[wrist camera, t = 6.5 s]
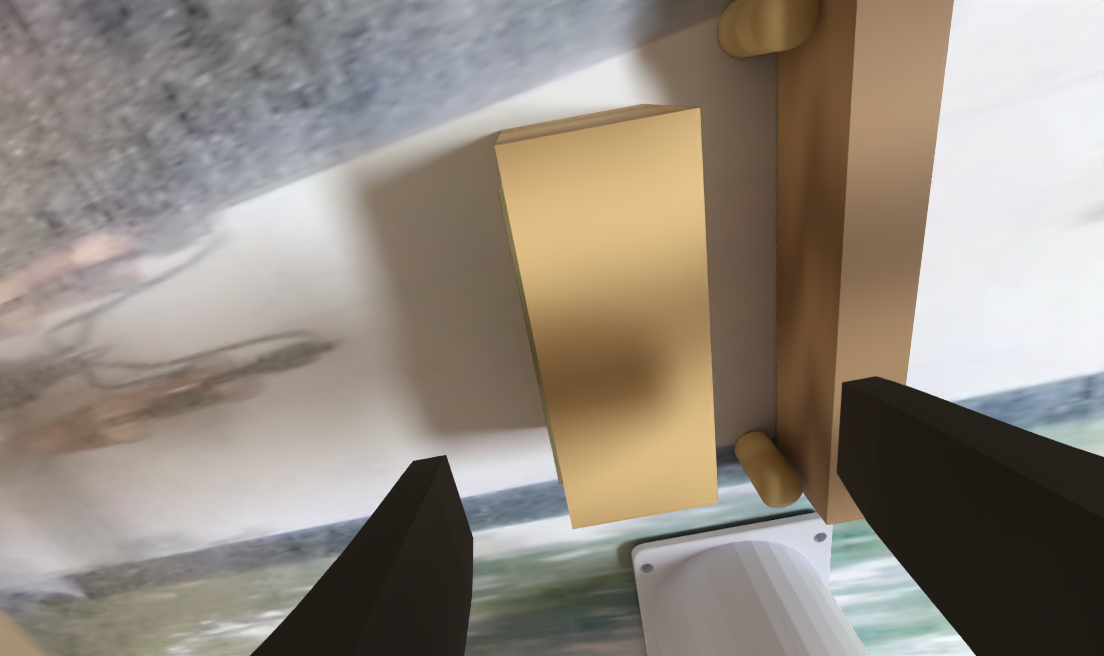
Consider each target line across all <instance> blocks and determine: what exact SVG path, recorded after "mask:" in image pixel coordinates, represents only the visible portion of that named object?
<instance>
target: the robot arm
mask: <svg viewBox="0 0 1104 656" xmlns="http://www.w3.org/2000/svg"><path fill="white" fill-rule="evenodd" d="M837 474H838V476H839V478H840V479H841V481H842V483H843V484H844V486H845V488H846V489H847V491H848V493H849V494H850V496H851V498H852V499H853V501H854V502H855V504H856V505H857V507H858V508H859V510H860V512H861V513H862V515H863V516H864V518H865V519H866V521H867V522H868V524H869V525H870V526H871V527H872V529H873V530H874V531H875V533H876V534H877V535H878V536H879V538H880V539H881V540H882V541H883V543H884V544H885V545H886V546H887V547H888V549H889V550H890V551H891V552H892V554H893V555H894V556H895V557H896V559H897V560H898V561H899V562H900V564H901V565H902V566H903V567H904V568H905V570H906V571H907V572H908V573H909V574H910V576H911V577H912V578H913V579H914V581H915V582H916V583H917V584H918V585H919V587H920V588H921V589H922V590H923V591H924V593H925V594H926V595H927V596H928V597H929V599H930V600H931V601H932V602H933V604H934V605H935V606H936V607H937V608H938V610H939V611H940V612H941V613H942V614H943V616H944V617H945V618H946V619H947V621H948V622H949V623H950V624H951V625H952V627H953V628H954V629H955V630H956V631H957V633H958V634H959V635H960V636H961V638H962V639H963V640H964V641H965V642H966V644H967V645H968V646H969V647H970V649H971V650H972V651H973V653H974V654H975V655H976V656H1104V457H1102V456H1099V455H1096V454H1093V453H1090V452H1087V451H1084V450H1081V449H1078V448H1075V447H1072V446H1069V445H1066V444H1063V443H1060V442H1057V441H1054V440H1052V439H1049V438H1046V437H1043V436H1040V435H1037V434H1035V433H1032V432H1029V431H1026V430H1024V429H1021V428H1018V427H1015V426H1013V425H1010V424H1007V423H1005V422H1002V421H999V420H997V419H994V418H991V417H989V416H986V415H983V414H981V413H978V412H975V411H973V410H970V409H967V408H965V407H962V406H959V405H957V404H954V403H952V402H949V401H946V400H944V399H941V398H938V397H936V396H933V395H930V394H928V393H925V392H922V391H920V390H917V389H914V388H911V387H909V386H906V385H903V384H900V383H897V382H894V381H891V380H888V379H884V378H881V377H878V376H874V377H869V378H863V379H858V380H852V381H847V382H842V392H841V408H840V424H839V440H838V457H837ZM832 526H833V525H832V524H831V525H826V524H825V522H824V521H823V520H822V518H821V517H820V515H819V514H818V513H817V512H815V513H810V514H804V515H799V516H793V517H788V518H782V519H776V520H771V521H765V522H760V523H754V524H749V525H743V526H737V527H732V528H726V529H721V530H715V531H710V532H704V533H698V534H693V535H687V536H682V537H676V538H671V539H665V540H659V541H654V542H648V543H643V544H640V545H637V546H636V547H635V548H634V549H633V550H632V554H631V555H632V561H633V568H634V574H635V580H636V587H637V593H638V599H639V606H640V612H641V618H642V625H643V631H644V638H645V644H646V650H647V656H870V655H869V653H868V651H867V650H866V648H865V647H864V645H863V643H862V642H861V640H860V639H859V637H858V635H857V634H856V632H855V631H854V629H853V627H852V626H851V624H850V623H849V621H848V620H847V618H846V616H845V615H844V613H843V612H842V610H841V608H840V607H839V605H838V604H837V602H836V600H835V599H834V597H833V596H832V594H831V592H830V591H829V589H828V588H829V572H830V557H831V541H832ZM644 564H647V565H644ZM472 582H473V536H472V533H471V530H470V527H469V524H468V521H467V518H466V515H465V512H464V508H463V505H462V502H461V499H460V496H459V493H458V490H457V487H456V484H455V481H454V478H453V475H452V472H451V469H450V466H449V462H448V459H447V456H446V455H443V456H437V457H432V458H427V459H421V460H416V461H413V462H412V463H411V464H410V466H409V467H408V468H407V469H406V471H405V472H404V473H403V475H402V476H401V477H400V479H399V480H398V481H397V482H396V484H395V485H394V486H393V488H392V489H391V490H390V492H389V493H388V494H387V496H386V497H385V498H384V500H383V501H382V502H381V504H380V505H379V506H378V508H377V509H376V510H375V512H374V513H373V514H372V516H371V517H370V518H369V519H368V521H367V522H366V523H365V524H364V526H363V527H362V528H361V530H360V531H359V532H358V533H357V535H356V536H355V537H354V539H353V540H352V541H351V542H350V544H349V545H348V546H347V548H346V549H345V550H344V551H343V552H342V554H341V555H340V556H339V557H338V558H337V560H336V561H335V562H334V563H333V564H332V565H331V567H330V568H329V569H328V570H327V571H326V572H325V574H324V575H323V576H322V577H321V578H320V580H319V581H318V582H317V583H316V584H315V585H314V587H313V588H312V589H311V590H310V591H309V592H308V594H307V595H306V596H305V597H304V598H303V599H302V601H301V602H300V603H299V604H298V605H297V606H296V608H295V609H294V610H293V611H292V612H291V613H290V614H289V615H288V616H287V617H286V619H285V620H284V621H283V622H282V623H281V624H280V625H279V626H278V627H277V628H276V629H275V630H274V631H273V633H272V634H271V635H270V636H269V637H268V638H267V639H266V640H265V641H264V642H263V643H262V644H261V645H260V646H259V647H258V648H257V649H256V650H255V651H254V652H253V653H252V654H251V655H250V656H464V652H465V645H466V638H467V630H468V622H469V615H470V607H471V599H472Z"/></svg>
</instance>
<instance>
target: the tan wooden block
mask: <svg viewBox="0 0 1104 656" xmlns="http://www.w3.org/2000/svg"><path fill="white" fill-rule="evenodd" d="M494 147H495V152H496V157H497V162H498V167H499V171H500V176H501V182H500V188H499V198H500V203H501V207H502V212H503V217H504V222H505V226H506V231H507V236H508V241H509V246H510V250H511V255H512V260H513V265H514V270H515V274H516V279H517V284H518V289H519V294H520V298H521V303H522V308H523V313H524V317H525V322H526V327H527V332H528V337H529V341H530V346H531V351H532V356H533V361H534V365H535V370H536V375H537V380H538V384H539V389H540V394H541V399H542V404H543V408H544V413H545V418H546V423H547V428H548V432H549V437H550V442H551V447H552V451H553V456H554V461H555V466H556V471H557V475H558V480H559V484H564V489H565V494H566V499H567V504H568V509H569V514H570V519H571V523H572V528H573V529H576V528H582V527H588V526H593V525H599V524H605V523H610V522H616V521H621V520H627V519H633V518H638V517H644V516H650V515H655V514H661V513H667V512H672V511H678V510H684V509H689V508H695V507H700V506H706V505H712V504H717V503H718V489H717V467H716V445H715V423H714V401H713V379H712V357H711V335H710V313H709V291H708V270H707V248H706V226H705V204H704V182H703V160H702V138H701V116H700V108H699V107H683V106H667V105H651V104H641V105H635V106H630V107H625V108H619V109H614V110H608V111H603V112H598V113H592V114H587V115H581V116H576V117H571V118H565V119H560V120H554V121H549V122H544V123H538V124H533V125H528V126H522V127H517V128H511V129H506V130H501V131H500V133H499V136H498V138H497V140H496V143H495V145H494Z"/></svg>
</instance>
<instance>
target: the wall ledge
mask: <svg viewBox="0 0 1104 656" xmlns="http://www.w3.org/2000/svg"><path fill="white" fill-rule="evenodd" d="M953 2H954V0H735V1H733V2H732V3H731V4H730V5H729V6H728V7H727V8H726V9H725V10H724V12H723V13H722V16H721V18H720V21H719V24H718V39H719V42H720V45H721V47H722V48H723V50H724V51H725V52H726V53H727V54H729V55H731V56H733V57H737V58H744V57H750V56H756V55H762V54H768V53H773V52H778V134H777V406H776V446H775V445H774V443H773V442H772V440H771V439H770V438H769V436H768V435H767V434H765V433H763V432H759V431H754V432H749V433H746V434H744V435H743V436H741V437H740V438H739V439H738V440H737V442H736V444H735V446H734V453H735V456H736V457H737V459H738V461H739V462H740V464H741V466H742V467H743V469H744V471H745V472H746V474H747V476H748V477H749V479H750V480H751V482H752V484H753V485H754V487H755V489H756V490H757V492H758V494H759V495H760V497H761V499H762V500H763V502H764V503H765V504H766V505H767V506H769V507H773V508H783V507H786V506H789V505H791V504H793V503H794V502H796V501H797V500H798V499H799V497H800V496H801V494H802V492H803V493H804V495H805V496H806V497H807V499H808V500H809V502H810V503H811V504H812V506H813V507H814V508H815V510H816V511H817V513H818V514H819V515H820V517H821V518H822V520H823V521H824V522H825V524H826V525H831V524H837V523H843V522H848V521H854V520H859V519H865V518H864V516H863V515H862V513H861V512H860V510H859V508H858V507H857V505H856V504H855V502H854V501H853V499H852V498H851V496H850V494H849V493H848V491H847V489H846V488H845V486H844V484H843V483H842V481H841V479H840V478H839V476H838V474H837V457H838V440H839V424H840V408H841V392H842V382H847V381H852V380H858V379H863V378H869V377H874V376H878V377H881V378H884V379H888V380H891V381H894V382H897V383H900V384H903V385H906V379H907V371H908V363H909V355H910V347H911V339H912V331H913V323H914V315H915V307H916V299H917V291H918V283H919V275H920V267H921V259H922V251H923V243H924V235H925V227H926V218H927V210H928V202H929V194H930V186H931V178H932V170H933V162H934V154H935V146H936V138H937V130H938V122H939V114H940V106H941V98H942V90H943V82H944V74H945V66H946V58H947V50H948V42H949V34H950V26H951V18H952V10H953Z"/></svg>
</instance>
